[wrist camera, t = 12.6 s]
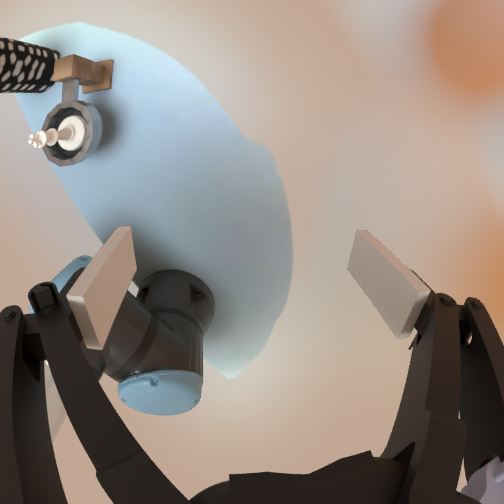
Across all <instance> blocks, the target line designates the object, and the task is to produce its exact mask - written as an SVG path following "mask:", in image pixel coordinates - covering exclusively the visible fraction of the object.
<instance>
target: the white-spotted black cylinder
mask: <svg viewBox="0 0 504 504" xmlns="http://www.w3.org/2000/svg"><path fill="white" fill-rule="evenodd" d="M60 58H62V57H61V55H60V53H59V52H58V51H56V50H52V49H49V48H45V47H42V46H38V45H34V44H30V43H26V42H22V41H18V40H13V39H8V38H3V37H0V93H42V92H44V91H46V90H48V89H49V88H50V87H51V86H52V85H53V84H54V83H55V82H56V81H53V75H54V66H55V60H57V59H60Z"/></svg>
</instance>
